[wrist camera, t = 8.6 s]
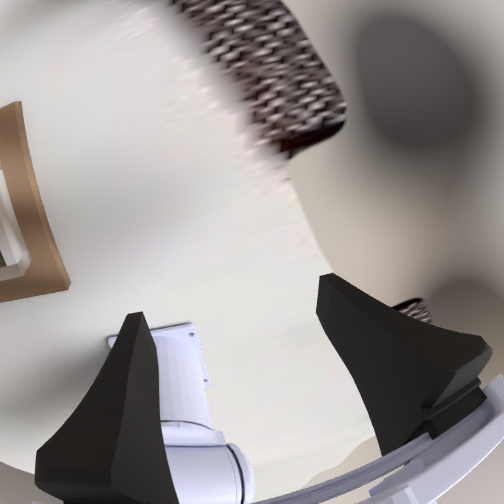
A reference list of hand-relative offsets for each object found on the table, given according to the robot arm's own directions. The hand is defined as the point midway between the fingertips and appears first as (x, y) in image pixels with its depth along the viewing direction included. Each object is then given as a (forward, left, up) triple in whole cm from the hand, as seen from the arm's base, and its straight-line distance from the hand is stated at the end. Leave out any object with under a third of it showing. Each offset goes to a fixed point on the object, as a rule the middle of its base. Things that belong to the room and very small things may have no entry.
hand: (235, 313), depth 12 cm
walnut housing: (+4, +17, -10) cm, 20 cm away
